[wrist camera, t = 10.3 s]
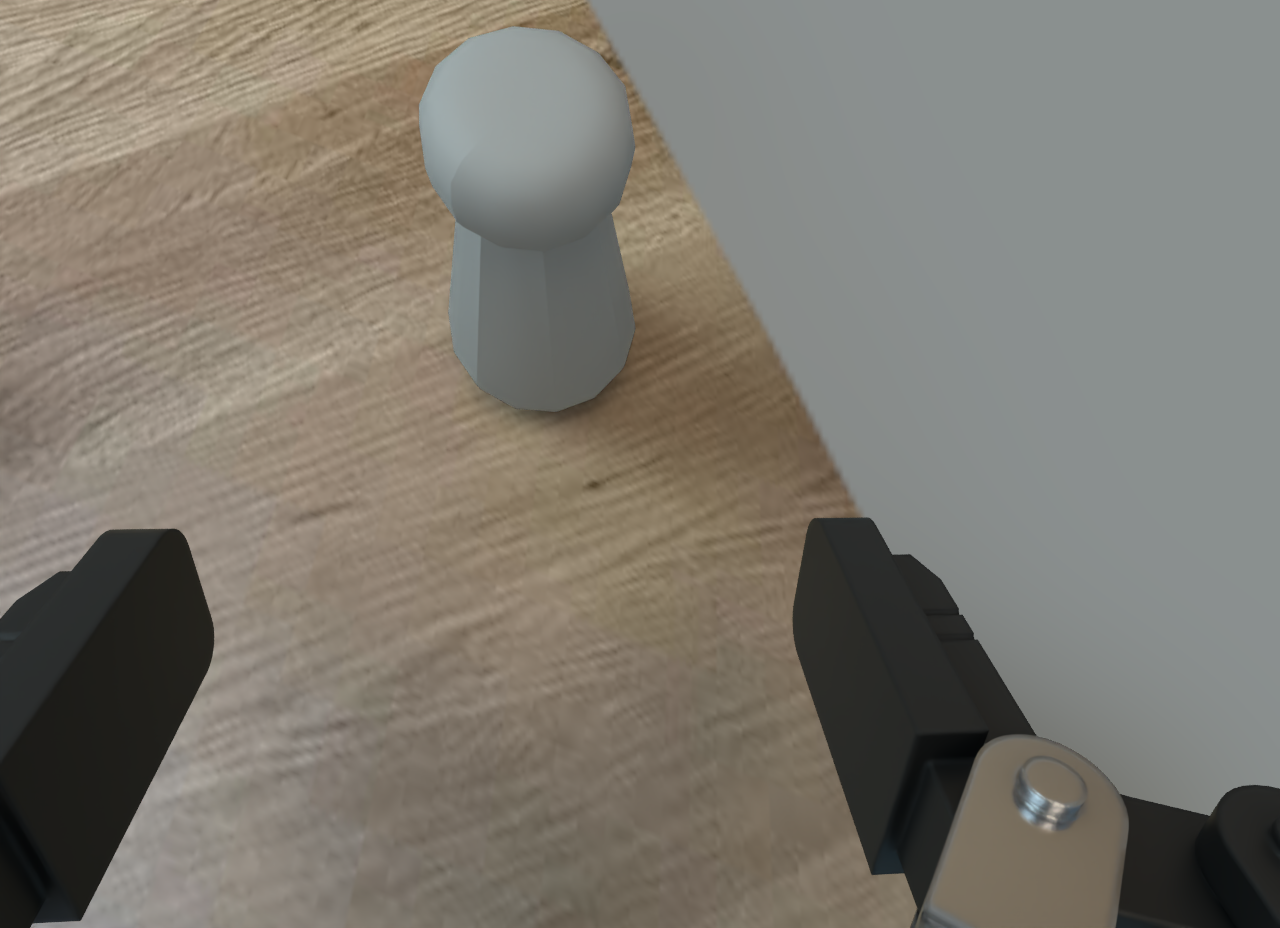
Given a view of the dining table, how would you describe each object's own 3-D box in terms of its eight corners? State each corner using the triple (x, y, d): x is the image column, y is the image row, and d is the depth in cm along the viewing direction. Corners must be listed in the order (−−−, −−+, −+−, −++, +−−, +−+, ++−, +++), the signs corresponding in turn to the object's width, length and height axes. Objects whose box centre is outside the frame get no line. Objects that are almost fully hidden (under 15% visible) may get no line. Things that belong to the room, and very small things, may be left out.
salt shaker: (451, 281, 28) (354, -24, 15) (613, 263, 29) (647, -45, 16) (471, 442, 27) (385, 253, 14) (641, 419, 27) (702, 217, 15)
